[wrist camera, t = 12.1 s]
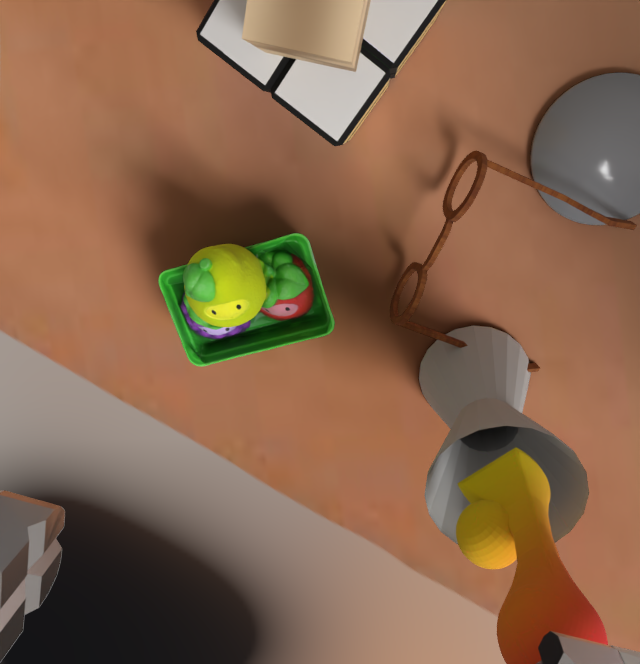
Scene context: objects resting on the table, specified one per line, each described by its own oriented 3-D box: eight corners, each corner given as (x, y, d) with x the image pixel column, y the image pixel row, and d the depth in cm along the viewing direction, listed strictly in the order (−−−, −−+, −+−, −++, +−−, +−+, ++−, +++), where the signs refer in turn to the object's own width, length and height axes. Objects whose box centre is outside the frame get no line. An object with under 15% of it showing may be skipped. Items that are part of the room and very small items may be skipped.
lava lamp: (486, 300, 45) (707, 836, 13) (556, 383, 47) (899, 1030, 15) (393, 368, 48) (387, 937, 16) (462, 443, 50) (580, 1086, 18)
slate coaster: (707, 93, 40) (711, 92, 39) (645, 238, 43) (648, 240, 42) (560, 57, 40) (563, 56, 39) (510, 205, 43) (512, 206, 43)
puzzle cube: (233, 54, 42) (191, 36, 32) (317, -84, 38) (297, -150, 29) (348, 143, 43) (339, 150, 34) (438, 16, 40) (456, -16, 30)
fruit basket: (210, 346, 49) (163, 408, 39) (170, 244, 47) (109, 280, 36) (342, 311, 47) (331, 366, 37) (308, 202, 45) (286, 227, 34)
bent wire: (468, 144, 41) (477, 152, 37) (634, 222, 42) (663, 239, 37) (386, 304, 47) (384, 329, 42) (535, 372, 47) (549, 403, 43)
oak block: (377, -33, 30) (377, -68, 25) (356, 71, 32) (351, 62, 27) (282, -53, 31) (259, -92, 25) (265, 52, 32) (241, 38, 27)
